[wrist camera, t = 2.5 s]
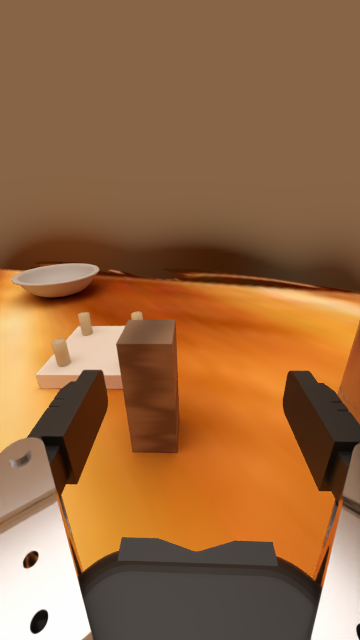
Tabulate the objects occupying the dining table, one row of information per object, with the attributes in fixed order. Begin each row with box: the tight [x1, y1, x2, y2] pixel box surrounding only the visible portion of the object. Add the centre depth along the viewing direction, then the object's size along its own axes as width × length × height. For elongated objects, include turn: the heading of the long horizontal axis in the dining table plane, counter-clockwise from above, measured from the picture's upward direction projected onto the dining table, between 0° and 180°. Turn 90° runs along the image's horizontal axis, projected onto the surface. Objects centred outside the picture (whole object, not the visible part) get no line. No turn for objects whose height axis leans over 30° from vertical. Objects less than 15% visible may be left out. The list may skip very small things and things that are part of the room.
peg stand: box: [36, 312, 143, 389], centre depth 45 cm, size 16×16×6 cm
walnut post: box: [116, 320, 179, 453], centre depth 28 cm, size 5×5×14 cm
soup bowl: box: [11, 264, 99, 297], centre depth 78 cm, size 24×24×7 cm
